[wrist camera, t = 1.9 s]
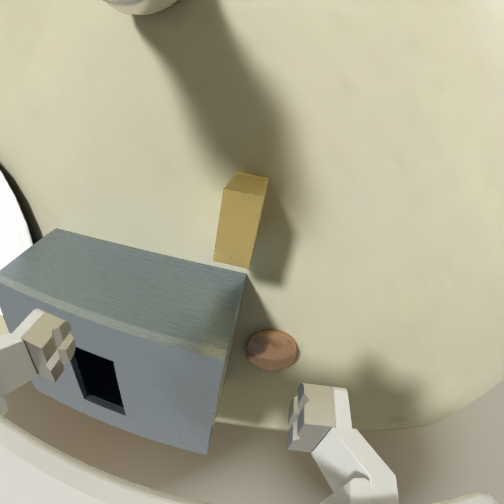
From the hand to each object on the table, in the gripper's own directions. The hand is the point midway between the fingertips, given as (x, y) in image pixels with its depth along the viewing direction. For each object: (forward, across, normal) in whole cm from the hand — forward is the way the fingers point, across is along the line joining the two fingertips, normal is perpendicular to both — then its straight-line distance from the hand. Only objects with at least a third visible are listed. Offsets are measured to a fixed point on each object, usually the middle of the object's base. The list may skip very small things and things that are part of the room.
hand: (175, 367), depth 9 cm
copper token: (+16, -5, +14) cm, 22 cm away
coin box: (+16, +9, +13) cm, 23 cm away
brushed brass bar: (+16, 0, 0) cm, 16 cm away
